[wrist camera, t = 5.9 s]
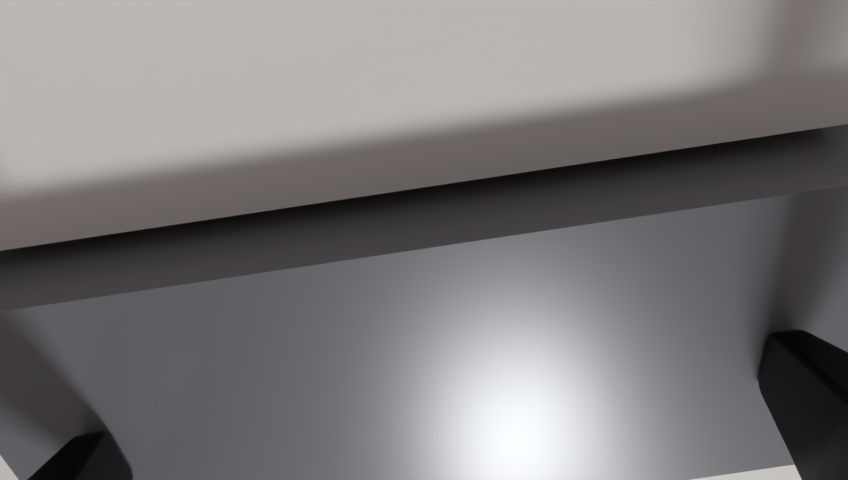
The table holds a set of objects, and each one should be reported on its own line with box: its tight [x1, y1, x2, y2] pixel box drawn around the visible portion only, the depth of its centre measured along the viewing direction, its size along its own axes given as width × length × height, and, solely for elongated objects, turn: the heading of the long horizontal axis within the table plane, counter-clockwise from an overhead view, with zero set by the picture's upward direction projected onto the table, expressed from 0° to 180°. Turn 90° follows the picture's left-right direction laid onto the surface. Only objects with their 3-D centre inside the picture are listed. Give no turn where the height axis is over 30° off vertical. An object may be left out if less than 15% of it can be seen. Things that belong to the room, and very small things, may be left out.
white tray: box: [0, 0, 848, 480], centre depth 15 cm, size 18×24×5 cm
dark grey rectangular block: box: [0, 124, 848, 480], centre depth 10 cm, size 12×5×4 cm, turn 97°
